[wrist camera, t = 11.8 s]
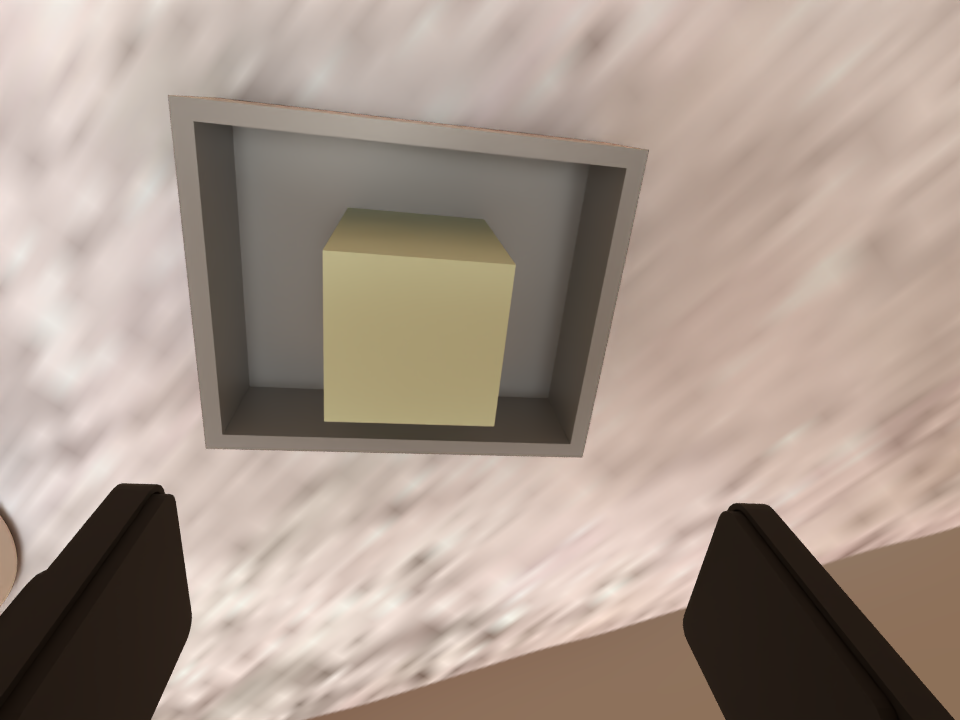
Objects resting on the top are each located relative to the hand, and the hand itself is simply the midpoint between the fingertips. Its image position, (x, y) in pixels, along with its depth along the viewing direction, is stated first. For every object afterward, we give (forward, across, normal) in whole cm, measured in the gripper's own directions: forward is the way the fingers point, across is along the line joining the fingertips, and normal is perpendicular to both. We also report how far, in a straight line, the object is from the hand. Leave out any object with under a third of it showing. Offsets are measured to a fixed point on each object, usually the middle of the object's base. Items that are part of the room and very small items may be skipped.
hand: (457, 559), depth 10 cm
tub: (+18, +1, 0) cm, 18 cm away
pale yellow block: (+18, +1, 0) cm, 18 cm away
